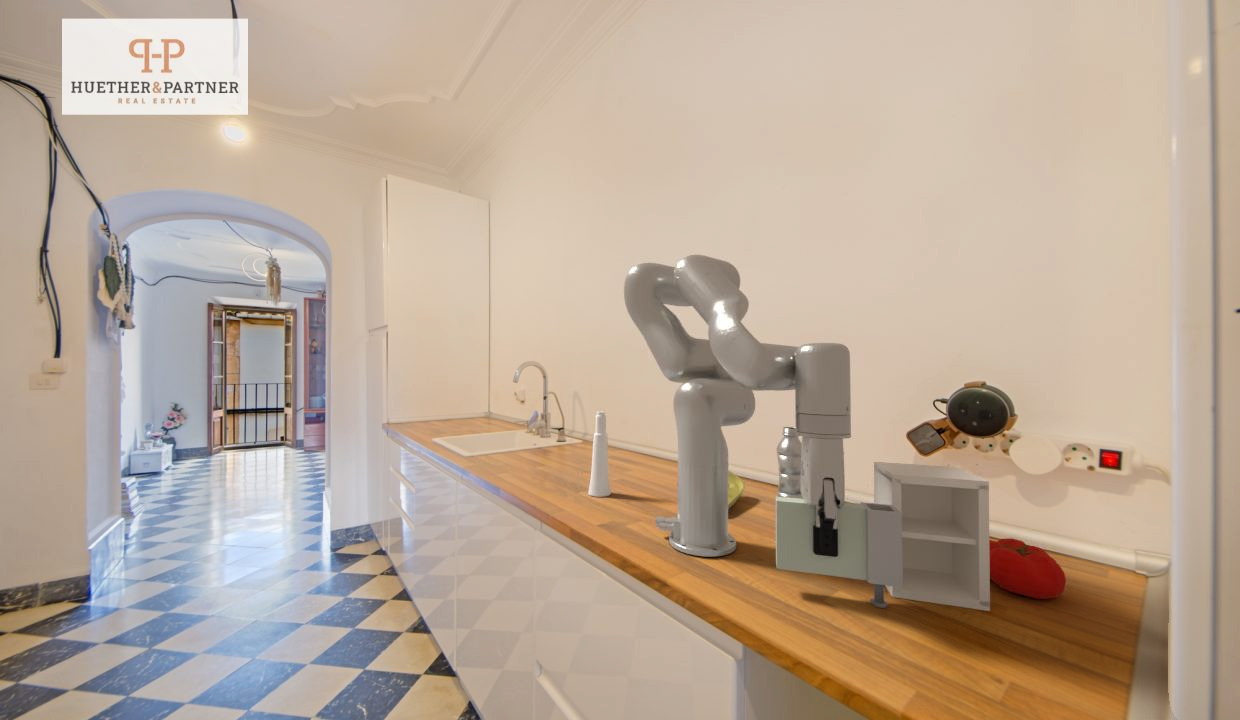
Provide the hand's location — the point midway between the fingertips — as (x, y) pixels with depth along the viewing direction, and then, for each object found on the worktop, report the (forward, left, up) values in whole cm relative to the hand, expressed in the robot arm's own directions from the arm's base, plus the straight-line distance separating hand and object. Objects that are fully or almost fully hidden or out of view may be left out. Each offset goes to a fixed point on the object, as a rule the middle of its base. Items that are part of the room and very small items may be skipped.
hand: (823, 549), depth 65 cm
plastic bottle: (-1, +41, -7) cm, 42 cm away
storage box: (+1, 0, -3) cm, 4 cm away
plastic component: (-19, +42, -7) cm, 46 cm away
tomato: (+30, +13, -7) cm, 33 cm away
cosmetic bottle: (-49, +40, -7) cm, 64 cm away
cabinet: (+14, +6, -7) cm, 17 cm away
